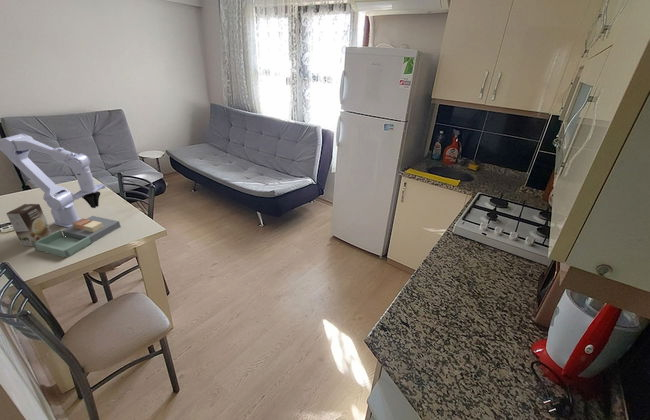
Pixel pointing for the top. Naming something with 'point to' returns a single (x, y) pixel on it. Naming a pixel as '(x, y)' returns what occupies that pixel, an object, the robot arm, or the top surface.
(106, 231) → the board
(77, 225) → the tile
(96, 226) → the tile
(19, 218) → the coffee box
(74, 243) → the tray
